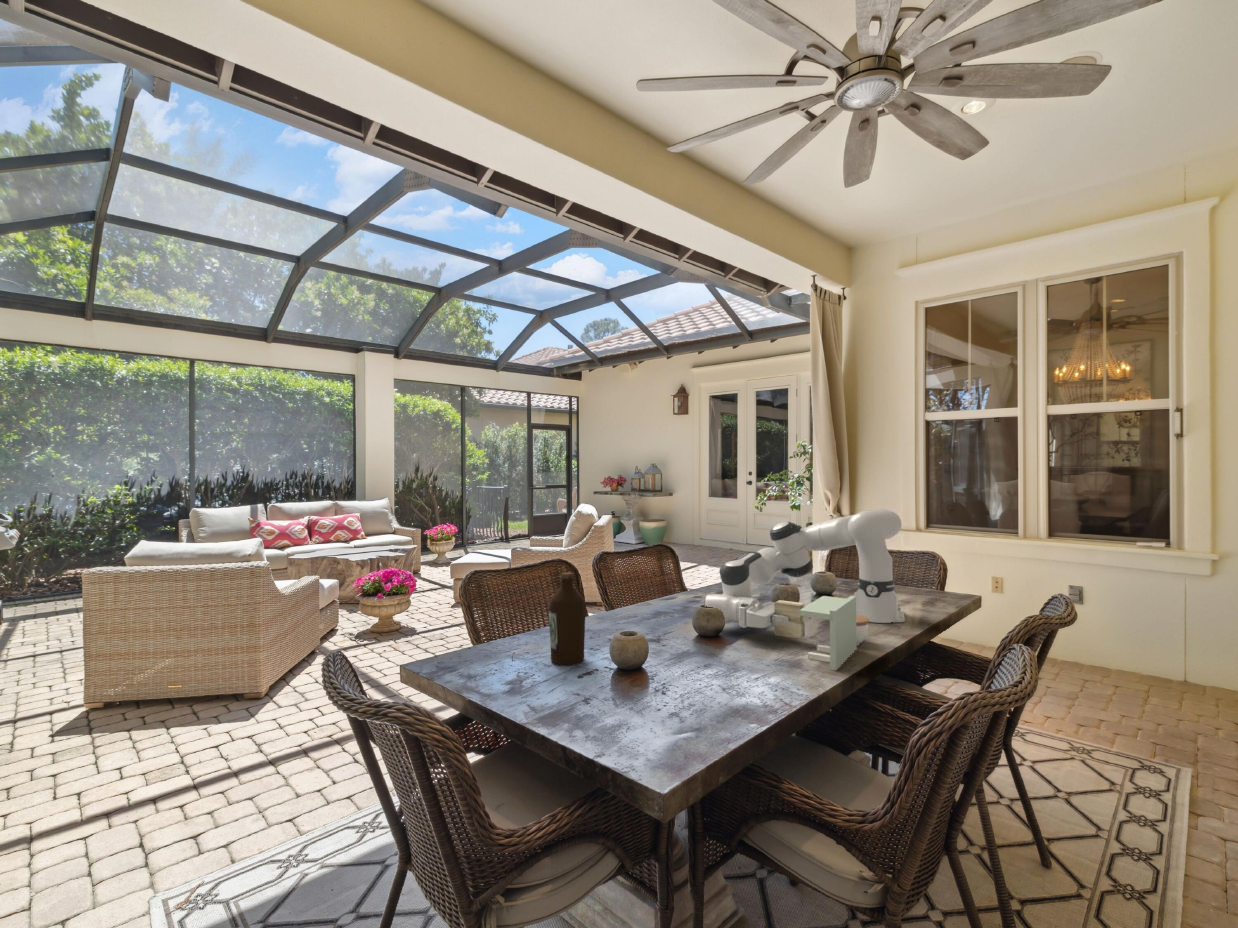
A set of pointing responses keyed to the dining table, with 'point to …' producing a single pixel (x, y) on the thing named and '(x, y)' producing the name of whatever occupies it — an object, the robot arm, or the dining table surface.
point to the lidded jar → (861, 628)
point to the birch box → (796, 623)
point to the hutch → (835, 628)
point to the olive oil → (567, 624)
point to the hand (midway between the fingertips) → (792, 617)
